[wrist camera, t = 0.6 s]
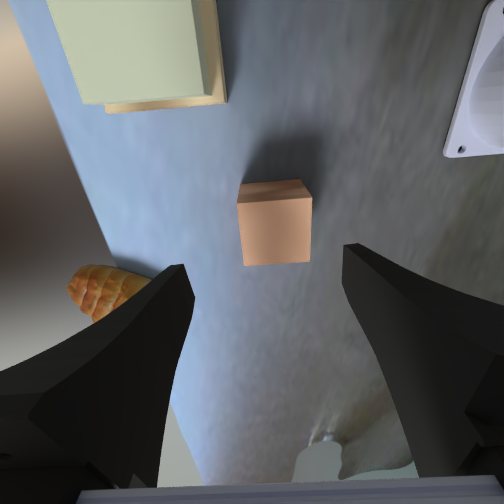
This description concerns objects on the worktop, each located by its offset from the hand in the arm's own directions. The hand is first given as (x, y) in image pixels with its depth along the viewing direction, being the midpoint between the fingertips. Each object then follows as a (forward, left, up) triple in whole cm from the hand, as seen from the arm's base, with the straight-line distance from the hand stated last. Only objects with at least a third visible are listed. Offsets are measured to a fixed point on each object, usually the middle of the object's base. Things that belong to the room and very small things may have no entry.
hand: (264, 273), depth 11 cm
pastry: (+13, +9, -10) cm, 19 cm away
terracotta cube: (-1, +1, -10) cm, 10 cm away
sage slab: (+5, -10, -7) cm, 14 cm away
